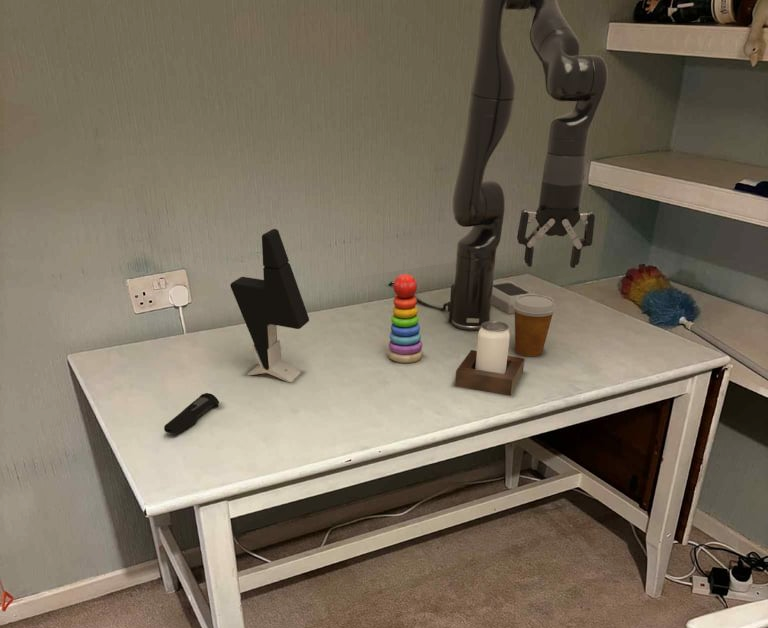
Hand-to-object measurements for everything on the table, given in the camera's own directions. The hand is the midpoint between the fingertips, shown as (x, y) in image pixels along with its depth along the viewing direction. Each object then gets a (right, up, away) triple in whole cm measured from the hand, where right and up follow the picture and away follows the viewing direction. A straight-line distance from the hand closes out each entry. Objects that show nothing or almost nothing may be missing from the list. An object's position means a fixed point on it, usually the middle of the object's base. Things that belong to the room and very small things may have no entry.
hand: (550, 266), depth 153 cm
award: (-57, -19, +14) cm, 61 cm away
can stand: (-10, -20, +13) cm, 26 cm away
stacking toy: (-28, -14, +22) cm, 38 cm away
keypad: (0, +7, +53) cm, 54 cm away
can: (-10, -21, +13) cm, 26 cm away
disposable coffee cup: (0, -12, +26) cm, 28 cm away
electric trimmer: (-70, -31, -4) cm, 77 cm away
